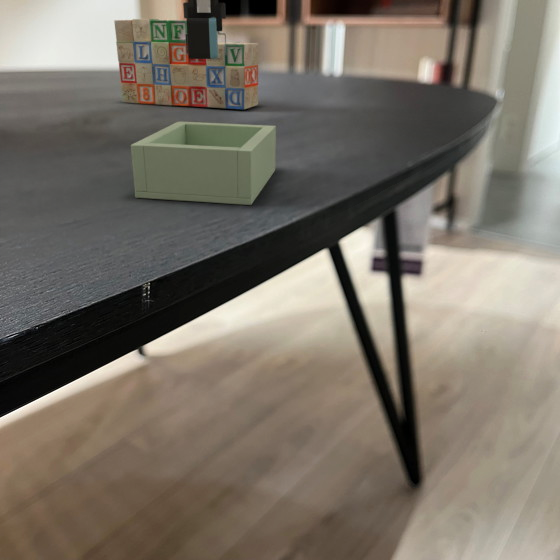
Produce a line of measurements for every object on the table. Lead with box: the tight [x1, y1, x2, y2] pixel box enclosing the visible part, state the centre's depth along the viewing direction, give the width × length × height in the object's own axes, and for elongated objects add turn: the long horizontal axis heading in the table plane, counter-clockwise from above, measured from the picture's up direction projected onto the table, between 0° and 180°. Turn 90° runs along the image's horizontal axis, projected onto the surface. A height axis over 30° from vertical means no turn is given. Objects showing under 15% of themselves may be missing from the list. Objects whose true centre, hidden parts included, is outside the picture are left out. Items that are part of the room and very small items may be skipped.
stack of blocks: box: [113, 18, 259, 110], centre depth 89 cm, size 21×6×12 cm, turn 71°
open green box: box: [130, 121, 277, 206], centre depth 47 cm, size 9×11×4 cm
